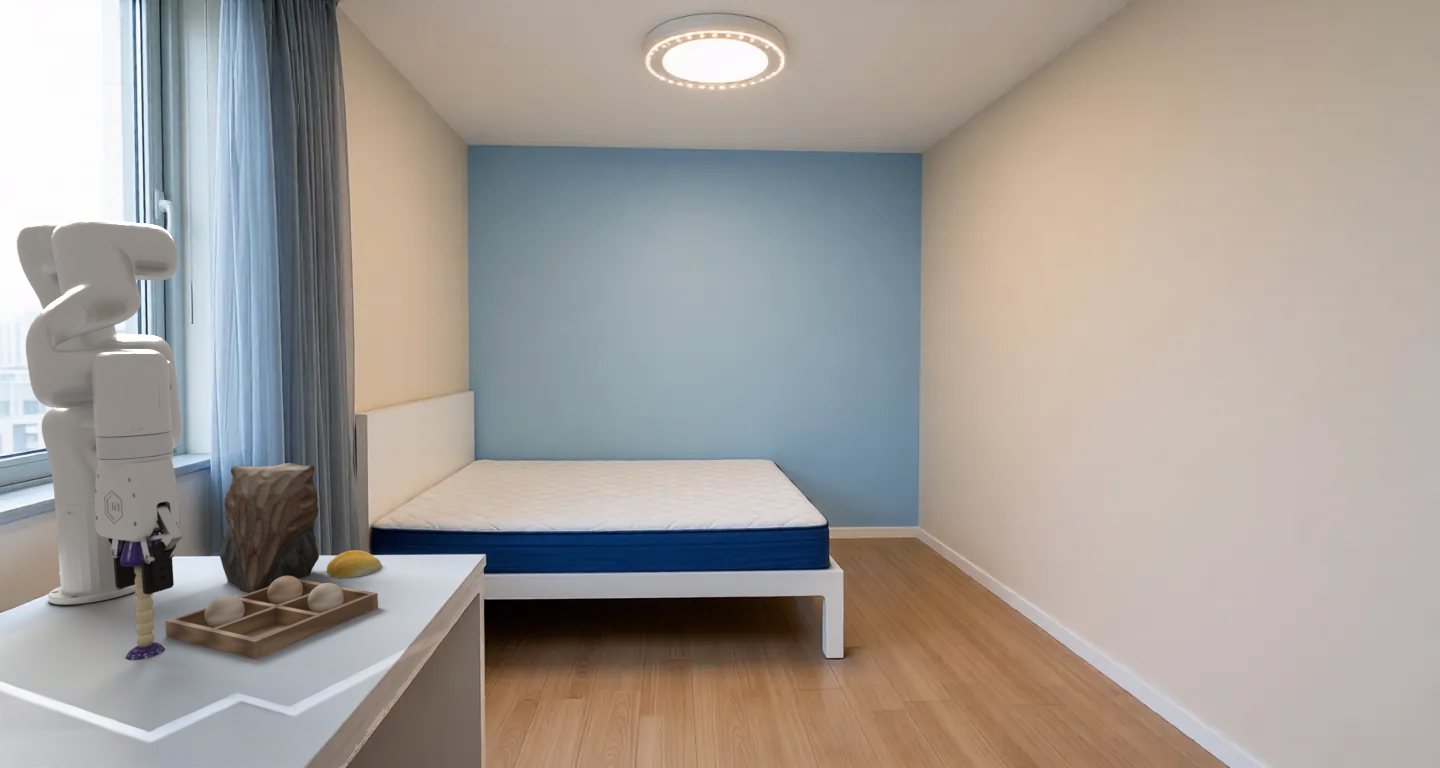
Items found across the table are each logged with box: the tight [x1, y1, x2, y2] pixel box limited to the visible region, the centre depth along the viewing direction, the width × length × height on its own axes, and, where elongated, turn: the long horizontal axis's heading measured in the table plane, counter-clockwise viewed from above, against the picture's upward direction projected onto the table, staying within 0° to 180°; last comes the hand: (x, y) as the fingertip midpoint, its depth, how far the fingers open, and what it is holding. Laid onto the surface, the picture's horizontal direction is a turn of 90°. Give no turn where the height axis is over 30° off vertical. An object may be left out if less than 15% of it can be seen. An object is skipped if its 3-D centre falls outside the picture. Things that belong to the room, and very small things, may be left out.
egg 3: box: [308, 582, 344, 613], centre depth 103 cm, size 5×5×5 cm
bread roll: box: [326, 549, 382, 579], centre depth 124 cm, size 8×9×4 cm
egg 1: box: [204, 594, 245, 628], centre depth 98 cm, size 5×5×5 cm
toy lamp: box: [120, 531, 166, 661], centre depth 91 cm, size 5×5×17 cm
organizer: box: [165, 579, 379, 660], centre depth 101 cm, size 18×18×3 cm
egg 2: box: [267, 576, 303, 605], centre depth 106 cm, size 5×5×5 cm
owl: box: [219, 462, 320, 594], centre depth 120 cm, size 13×13×20 cm
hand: (144, 586), depth 91 cm, fingers open, 5 cm apart
